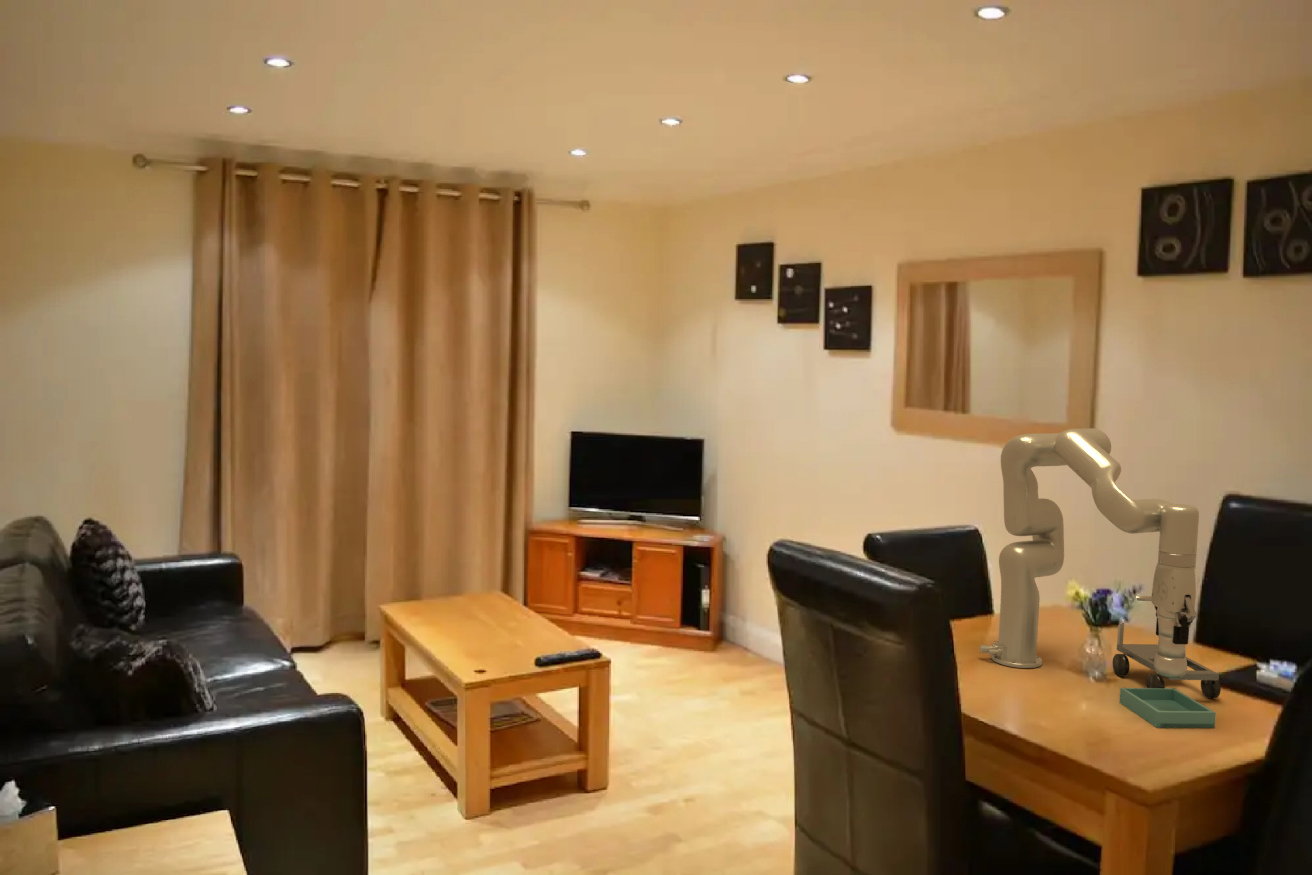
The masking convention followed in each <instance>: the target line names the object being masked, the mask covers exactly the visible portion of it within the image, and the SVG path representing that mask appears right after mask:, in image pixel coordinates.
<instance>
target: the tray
mask: <svg viewBox="0 0 1312 875" xmlns="http://www.w3.org/2000/svg"><path fill="white" fill-rule="evenodd" d="M1118 703H1119V704H1121V705H1123V706H1124V707H1125V708H1127V709H1128V710H1130V711H1131V712H1133V713H1134V714H1135V715H1137V716H1139V717H1140V718H1141V719H1143V720H1145V721H1146V722H1147V723H1149V724H1150V725H1152V726H1153V727H1155V728H1156V729H1215V728H1216V726H1215V725H1216V717H1217V716H1216V715H1217V712H1215V711H1214V710H1213V709H1210V707H1207V706H1205V705H1204V704H1202V703H1200V702H1198V701H1197V700H1196V699H1194V698H1193V697H1192V698H1191V697H1190V696H1188V695H1186V694H1185V693H1183V692H1181V691H1180V690H1178V689H1176V688H1174V687H1172V688H1171V687H1167V688H1166V687H1165V688H1147V687H1119V702H1118Z"/></svg>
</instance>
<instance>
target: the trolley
mask: <svg viewBox="0 0 1312 875" xmlns="http://www.w3.org/2000/svg"><path fill="white" fill-rule="evenodd" d="M1135 596H1136V598H1137V601H1136V602H1151V597H1152V595H1149V596H1148V595H1135ZM1124 632H1125V622H1124V623H1122V624H1120V625H1117V639H1116V650H1117V651H1118V652H1120V653H1115V654H1114V656H1113V658H1112V668H1113V672H1114V673H1115V675H1116V676H1117V677H1126V676H1128V675H1129V673H1130V669H1131V668H1130V667H1131V666H1130V660H1129V658H1130V659H1132V660H1134V661H1135V662H1138V664H1140V665H1142V666H1144V667H1146V668H1148V669H1149V670H1151V671H1153V672H1154V673H1149V674H1148V676H1147V677H1146V681H1145V682H1146V683H1145V685H1146V686H1145V688H1166V684H1165V680H1164V678H1165V679H1166V680H1168V681H1200V689H1201V692H1202V694H1203V696H1204V697H1205V698H1207V699H1217V698H1219V696H1220V695H1221V690H1222V688H1221V687H1222V686H1221V682H1220V680H1219V679H1220V674H1219V672H1216V671H1214V670H1212V669H1210V668H1209V667H1206V666H1205V665H1202V664H1201V663H1198V662H1197V661H1195V660H1193V659H1192V658H1189V657H1188V656H1186V660H1187V668H1190V669H1191V670H1188V669H1187V671H1186V674H1185V675H1184V676H1183V677H1181V678H1170V677H1166V676H1162V675H1159V674H1158V673H1157V672H1156V671H1155V668H1154V660H1155V655H1156V653H1157V646H1158V643H1156V644H1155V643H1154V644H1153V643H1152V644H1151V643H1148V644H1147V643H1124V635H1125V634H1124Z"/></svg>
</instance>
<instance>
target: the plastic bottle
mask: <svg viewBox="0 0 1312 875" xmlns="http://www.w3.org/2000/svg"><path fill="white" fill-rule="evenodd" d="M1180 612H1185V610H1181V611H1180ZM1157 614H1158V615H1157V616H1158V617H1157V618H1158V626H1159V636H1158V641H1157V644H1158V646H1157V653H1156V655H1155V660H1154V668H1155V671H1156V672H1157V673H1156V672H1155V673H1156V674H1159V675H1162V677H1163V676H1166V677H1170V678H1181V677H1183V676H1184V675H1185V674H1186V671H1187V670H1188V666H1187V660H1186V657H1187V653H1186V649H1187V648H1186V644H1174V643H1173V633H1174V626H1176V621H1175V614H1172V613H1169V612H1167V611H1166V610H1164V608H1163V607H1161V606H1159V607H1158V609H1157ZM1184 616H1185V615H1180V619H1182V618H1183V617H1184Z"/></svg>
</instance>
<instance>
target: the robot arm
mask: <svg viewBox="0 0 1312 875" xmlns="http://www.w3.org/2000/svg"><path fill="white" fill-rule="evenodd" d="M1111 452H1112V442H1111V440H1110V438H1109V436H1108V435H1107V434H1106V433H1105V432H1104V431H1102V430H1101V429H1097V428H1068V429H1065V430H1062V431H1061V432H1056V433H1055V432H1054V433H1052V432H1051V433H1050V432H1048V433H1047V432H1046V433H1042V432H1038V433H1025V434H1024V433H1023V434H1019V435H1016V436H1013V437H1012V438H1010V439H1009V440H1008V441H1007V442H1006V443H1005V444H1004V446H1003V448H1002V450H1001V454H1000V468H1001V475H1002V483H1003V484H1002V486H1003V489H1002V490H1003V492H1002V494H1003V519H1004V522H1003V523H1004V527H1005V529H1006V531H1007V532H1008V533H1009V534H1010V535H1012V536H1015V537H1032V540H1024V541H1015V542H1011V543H1009V544H1007V545H1005V546H1004V547H1003V548H1002V550H1001V551H1000V553H999V556H998V566H999V574H1000V605H999V606H1000V608H999V621H998V622H999V624H998V640H995V641H994V643H993V644H991V645H986V644H980V645H979V653H981V654H982V653H984V654H985V653H986V654H988V655H991V656H990V659H991V660H992V661H993V662H995V663H996V664H1000V665H1003V666H1005V667H1011V668H1019V669H1034V668H1039V667H1041V666H1042V665H1043V659H1042V658H1041V656H1038V655H1037V651H1038V650H1037V649H1038V632H1039V630H1038V629H1039V619H1040V618H1039V617H1040V601H1041V600H1040V599H1041V598H1040V597H1041V596H1040V591H1039V588H1038V586H1037V583H1036V579H1035V578H1041V577H1042V578H1043V577H1049V576H1052V575H1053V576H1054V575H1056V574H1057V573H1059V572H1060V571H1061V570H1062V568H1063V566H1064V561H1065V560H1064V559H1065V537H1064V536H1065V535H1064V534H1065V533H1064V532H1065V531H1064V529H1065V528H1064V525H1065V524H1064V518H1063V514H1062V510H1061V509H1060V507H1059V506H1058V504H1057V503H1056V502H1055V501H1053V500H1051V499H1049V498H1039V485H1038V484H1039V483H1038V479H1037V477H1036V475H1035V473H1034V472H1033V470H1032V468H1035V467H1061V466H1068V468H1070V469H1071V470H1072V471H1073V472H1074V473H1075V474H1076V475H1077V476H1078V477H1079V478H1080V479H1081V480H1083V482H1084V483H1085V484H1087V485H1088V486H1089V488H1091V495H1092V499H1093V501H1094V504H1095V506H1096V508H1097V509H1098V511H1099V512H1100V513H1101V514H1102V515H1103V517H1105V518H1106V519H1107V520H1108V521H1109V522H1110V523H1111V524H1112V525H1113V526H1114V527H1115V528H1117V529H1119V530H1120V531H1123V532H1124V533H1127V534H1134V535H1135V534H1143V533H1158V532H1159V539H1158V555H1157V562H1156V567H1155V571H1154V574H1153V575H1154V576H1153V580H1152V581H1153V582H1152V586H1151V587H1152V588H1151V596H1152V597H1151V601H1150V602H1151V604H1152V605H1153V606H1154V610H1155V617H1156V624H1155V625H1156V626H1155V635H1156V636H1157V637H1159V626H1158V616H1157V615H1158V614H1157V609H1158V607H1159V606H1161V607H1163V608H1164V610H1166V611H1167V612H1169V613H1172V614H1175V621H1176V626H1174V633H1173V643H1174V644H1185V645H1188V644H1189V637H1190V636H1189V635H1190V628H1191V626H1192V623H1193V621H1194V619H1196V617H1197V616H1198V614H1197V611H1196V609H1195V608H1196V599H1197V598H1196V595H1197V594H1196V591H1197V590H1196V588H1197V587H1196V584H1197V583H1196V573H1195V572H1196V571H1195V570H1196V568H1197V567H1196V565H1197V564H1196V563H1197V550H1198V548H1197V547H1198V538H1199V537H1198V535H1199V520H1200V519H1199V518H1200V511H1199V509H1198V508H1197V507H1195V506H1193V505H1190V504H1183V503H1173V502H1170V501H1167V500H1165V499H1159V498H1149V499H1147V498H1145V499H1132V498H1130V497H1129V496H1128V495H1127V494H1125V493H1124V492H1123V491H1122V489H1121V488H1119V486H1117V484H1116V481H1117V480H1118V479H1119V477H1120V475H1121V472H1122V466H1121V464H1120V462H1118V461H1117V460H1116V459H1115V458H1114V457H1112V456H1111V455H1110V454H1111ZM1181 610H1185V612H1180V611H1181ZM1180 615H1185V616H1184V617H1183V618H1182V619H1180Z"/></svg>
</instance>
